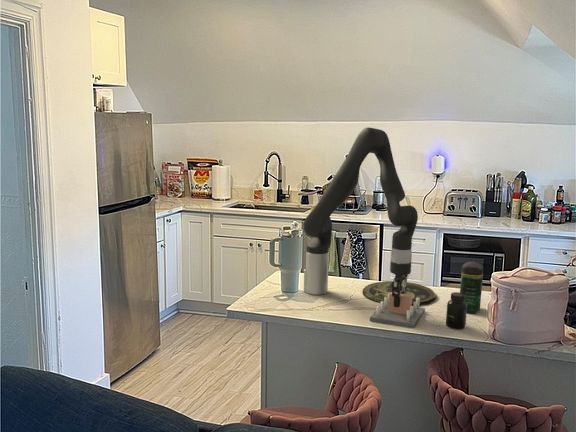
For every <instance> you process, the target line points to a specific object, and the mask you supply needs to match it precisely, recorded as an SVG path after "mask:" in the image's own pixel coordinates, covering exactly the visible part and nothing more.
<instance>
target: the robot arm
mask: <svg viewBox="0 0 576 432" xmlns="http://www.w3.org/2000/svg"><path fill="white" fill-rule="evenodd" d="M369 154H374V156H375V157H376V160H377V162H378V164H379V169H380V173H379V181H380V182H379V183H380V187H381V189H382V191H383V194H384V197H385V200H386V207H387V208H386V209H387V217H388V220H389V222H390V223H391V224H392V225H393V226H395V227H400V228H399V229H398V230H397V231H395V232H393V233H392V241H391V251H390V265H389V272H390V273H391V274H393V275H395V276H394V277H393V282H392V297H394V305H393V306H394V307H400V297H401V294H404V292H405V289H406V288H407V287H406V286H407V282H408V277H409V276H408V275H410V274H411V273H412V260H413V259H412V257H413V252H412V245H413V236H414V234H415V231H416V228H417V227H416V226H417V224H418V219H419V218H418V217H419V215H418V210H417V208H416V207H415V206H413V205H401V204H400V202H401V201H403V200H404V199H405V198H406V192H405V190H404V187H403V185H402V183H401V180H400V177H399V175H398V172H397V169H396V164H395V161H394V156H393V152H392V147H391V142H390V139H389V135H388V133H386V132H385V131H384V130H383V129H378V128H374V127H365V128H363V129H362V130H360V131H359V133H358V134H357V137H356V138H355V140H354V142H353V143H352V146H351V148H350V150H349V152H348V153H347V156H346V157H345V159H344V161H343V162H342V164H341V166H340V167H339V169H338V170H337V172H336V173H335V175H334V176H333V178H332V179H331V181H330V182H329V184H328V186H327V187H326V189H325V190H324V192H323V194H322V195H321V197H320V199H319V200H318V202H317V204H316V205H315V206H314V207H313V208H312V210H311V211H310V213H309V214H307V216H306V217H305V218H304V221H303V230H304V232H305V234H306V235H307V236H308V237H311V238H310V240H309V242H308V243H307V245H306V256H305V257H306V258H305V261H306V262H305V269H304V270H303V292H304V293H307V294H309V295H314V296H317V295H318V296H319V295H325V294H327V293H328V290H329V289H328V287H329V262H330V261H329V256H330V253H329V252H330V247H331V244H332V236H333V235H332V234H333V223H332V221H333V220H332V218H331V216H332V214H333V213H334V212H335V211H336V210H337V209H338V208H339V207H340V206H341V205H343V203H345V202H346V200H348V199H349V197H350V196H351V194H352V193H353V192H354V190H355V188H357V185H358V183H359V179H360V171H361V166H362V164H363V162H364V161H365V159H366V158H367V157H368V155H369ZM396 291H397V294H395V293H396Z"/></svg>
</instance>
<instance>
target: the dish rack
mask: <svg viewBox="0 0 576 432" xmlns="http://www.w3.org/2000/svg"><path fill="white" fill-rule="evenodd" d="M387 301H388V302H387ZM419 303H420V298H417V299H416V302H413V306H410V310H407V315H404V314H398V313H392V312H389V294H388V298H384V302H383V301H381V304H380V305H376V309H375V311H374V312H373V313H372V314H371V316H369V321H370V322H373V323H380V324H387V325H392V326H398V327H403V328H404V327H405V328H411V329H414V328H415V327H416V325H417V324H418V323H419V321H420V319H421V318H422V317H423V315H424V314H425V313H426V307H421V306H419Z"/></svg>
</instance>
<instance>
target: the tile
mask: <svg viewBox="0 0 576 432" xmlns="http://www.w3.org/2000/svg"><path fill="white" fill-rule="evenodd" d="M395 294H397V293H395ZM412 296H413V295H408V294H401V297H400V307H394V306H393V305H394V297H392V292H391V293H390V294H389V312H392V313H398V314H404V315H407V310H410V306H412Z"/></svg>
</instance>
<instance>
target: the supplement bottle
mask: <svg viewBox="0 0 576 432" xmlns="http://www.w3.org/2000/svg"><path fill="white" fill-rule="evenodd" d="M446 304H447V305H446V314H445V326H446V327H447V328H450V329H452V330H463V329H464V330H465V327H466V324H467V322H466V321H467V303H466V302H465V294H463V293H460V291H459V292H458V291H456V292H451V293H450V299H449V300H448V301H447V303H446Z"/></svg>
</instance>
